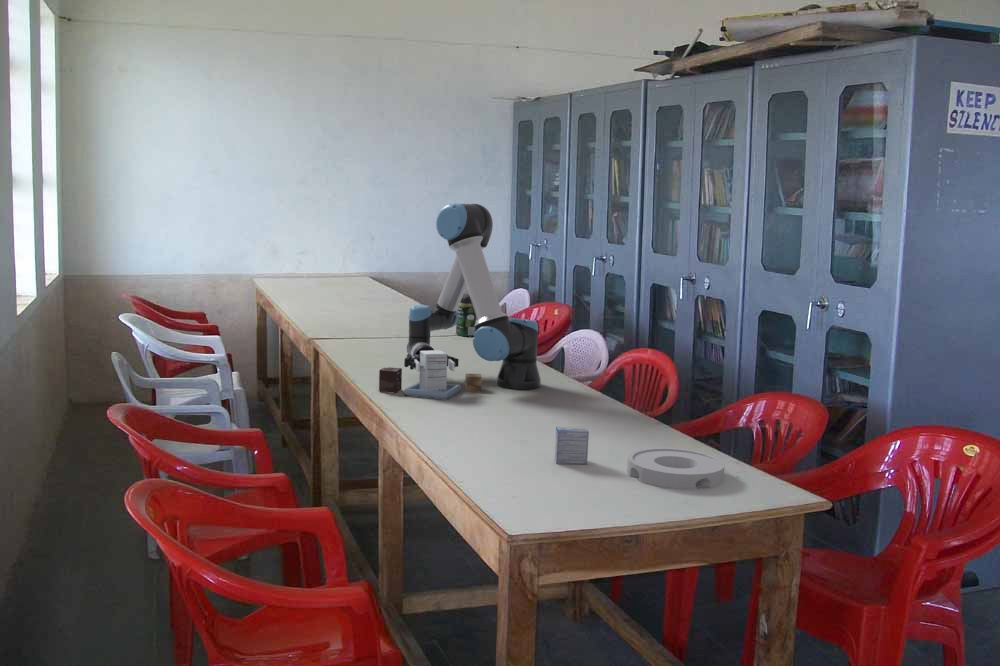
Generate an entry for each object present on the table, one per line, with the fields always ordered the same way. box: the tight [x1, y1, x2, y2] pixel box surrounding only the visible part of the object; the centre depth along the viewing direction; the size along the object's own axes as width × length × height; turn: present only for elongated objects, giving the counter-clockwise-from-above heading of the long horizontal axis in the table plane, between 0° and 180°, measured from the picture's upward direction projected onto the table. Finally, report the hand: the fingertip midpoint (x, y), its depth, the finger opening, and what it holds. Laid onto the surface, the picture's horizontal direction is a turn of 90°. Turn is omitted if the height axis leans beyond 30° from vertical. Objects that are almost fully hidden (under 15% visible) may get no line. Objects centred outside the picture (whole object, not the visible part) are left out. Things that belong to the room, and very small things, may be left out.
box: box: [378, 366, 403, 394], centre depth 322 cm, size 6×6×7 cm
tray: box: [404, 381, 461, 401], centre depth 321 cm, size 14×14×2 cm
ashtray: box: [626, 447, 725, 491], centre depth 240 cm, size 23×23×4 cm
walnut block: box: [464, 373, 483, 392], centre depth 329 cm, size 5×5×5 cm
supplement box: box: [419, 349, 448, 392], centre depth 320 cm, size 7×7×13 cm
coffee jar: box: [455, 293, 477, 337], centre depth 445 cm, size 10×8×19 cm
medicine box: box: [554, 425, 590, 465], centre depth 247 cm, size 8×4×9 cm, turn 92°
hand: (436, 367), depth 316 cm, fingers open, 10 cm apart
